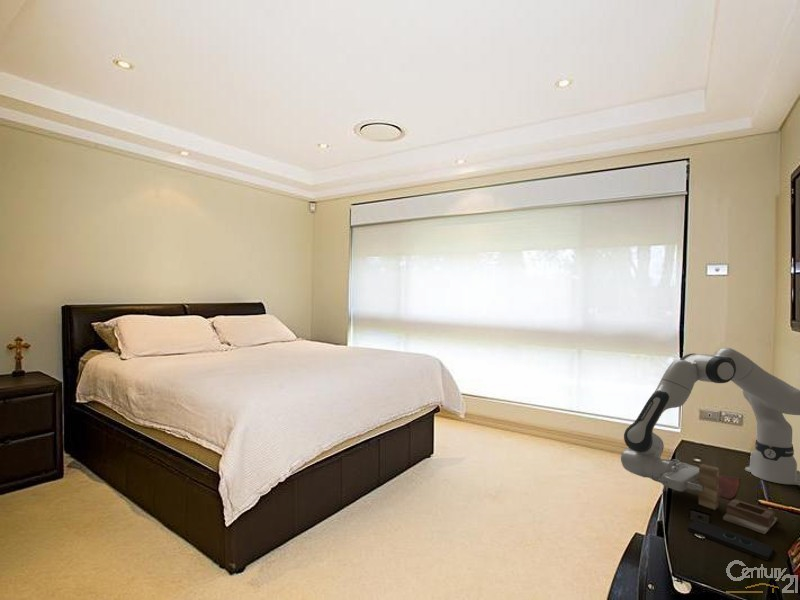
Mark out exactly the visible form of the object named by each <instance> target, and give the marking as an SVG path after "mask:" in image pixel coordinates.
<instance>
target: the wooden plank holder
mask: <svg viewBox="0 0 800 600" xmlns="http://www.w3.org/2000/svg"><path fill="white" fill-rule="evenodd" d="M775 515H776V514H775V511H773V510H771V509H768V508H764V507H761V506H758V505H756V504H755V505H754V504H752V503H748V502H745V501H741V500H739V499H736V498H732V499H731V500H730V502H728V503H727V504H726V513H725V514H724V515H723V516H722V520H724V521H726V522H729V523H732V524H736V525H737V526H741V527H743V528H747V529H749V530H752V531H755V532H756V533H759V534H763V535H766V533H767V532H768V531H770V529H771V528H772V527H773V526H774V524H775V523H776V522H777V521H778V517H775Z"/></svg>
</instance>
